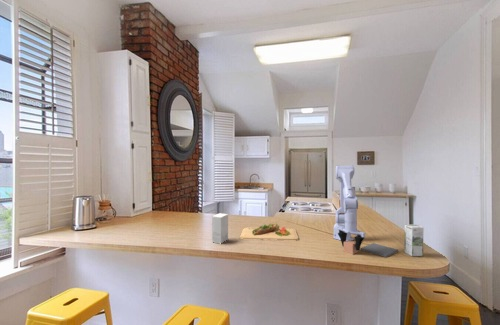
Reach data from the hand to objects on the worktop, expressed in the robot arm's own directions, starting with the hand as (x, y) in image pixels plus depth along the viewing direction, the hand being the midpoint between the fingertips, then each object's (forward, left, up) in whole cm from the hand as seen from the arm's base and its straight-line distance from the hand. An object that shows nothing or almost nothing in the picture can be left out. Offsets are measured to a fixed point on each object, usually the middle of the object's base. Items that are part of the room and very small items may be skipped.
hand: (350, 248), depth 128 cm
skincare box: (-55, -45, -2) cm, 71 cm away
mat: (+8, +13, -2) cm, 15 cm away
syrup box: (+21, +21, -2) cm, 30 cm away
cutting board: (-49, -13, -3) cm, 51 cm away
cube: (0, 0, -2) cm, 2 cm away
